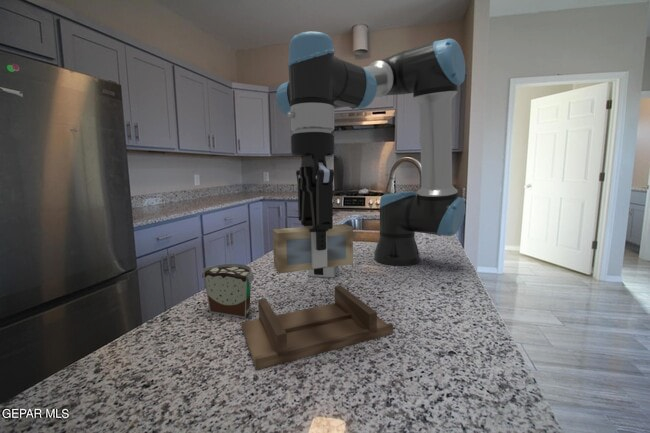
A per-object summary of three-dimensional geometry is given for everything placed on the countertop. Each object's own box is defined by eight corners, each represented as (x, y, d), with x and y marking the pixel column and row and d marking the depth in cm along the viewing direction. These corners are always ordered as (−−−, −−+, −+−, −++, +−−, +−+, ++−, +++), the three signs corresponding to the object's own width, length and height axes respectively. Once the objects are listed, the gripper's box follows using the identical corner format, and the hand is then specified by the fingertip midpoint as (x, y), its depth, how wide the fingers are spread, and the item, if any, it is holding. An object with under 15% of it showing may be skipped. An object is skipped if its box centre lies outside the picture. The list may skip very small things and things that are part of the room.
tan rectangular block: (343, 258, 62) (343, 223, 61) (353, 264, 58) (353, 227, 57) (273, 266, 57) (272, 229, 56) (279, 273, 53) (277, 233, 52)
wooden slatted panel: (354, 303, 73) (354, 282, 72) (392, 333, 59) (393, 308, 59) (241, 326, 63) (240, 303, 62) (256, 369, 49) (254, 340, 49)
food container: (266, 307, 72) (264, 265, 71) (251, 319, 66) (249, 274, 65) (221, 300, 76) (218, 260, 75) (204, 311, 70) (200, 268, 69)
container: (334, 278, 90) (333, 234, 88) (308, 276, 92) (307, 233, 90) (338, 269, 98) (338, 228, 96) (314, 268, 99) (313, 228, 97)
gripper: (279, 137, 61) (283, 253, 64) (307, 125, 45) (310, 281, 48) (316, 138, 63) (318, 250, 67) (354, 127, 47) (354, 274, 51)
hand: (314, 262), depth 57 cm, fingers closed on tan rectangular block, 4 cm apart
